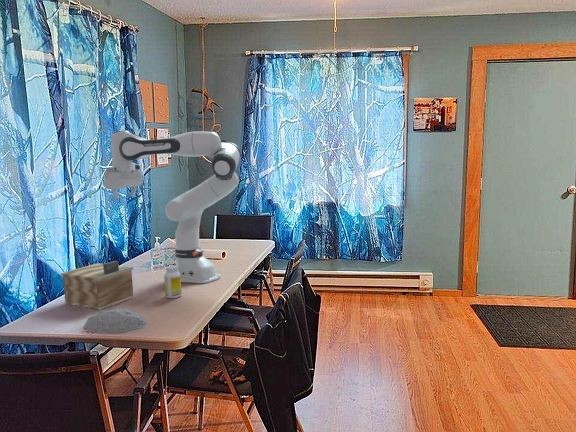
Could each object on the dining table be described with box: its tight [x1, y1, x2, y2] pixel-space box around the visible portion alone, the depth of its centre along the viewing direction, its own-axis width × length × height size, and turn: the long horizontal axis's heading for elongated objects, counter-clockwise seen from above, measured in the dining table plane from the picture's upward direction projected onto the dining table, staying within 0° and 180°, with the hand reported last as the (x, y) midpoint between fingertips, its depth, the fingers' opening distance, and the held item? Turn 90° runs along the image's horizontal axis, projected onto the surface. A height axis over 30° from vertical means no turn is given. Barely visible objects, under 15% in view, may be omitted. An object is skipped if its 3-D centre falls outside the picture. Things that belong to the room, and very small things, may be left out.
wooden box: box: [62, 270, 134, 311], centre depth 221 cm, size 20×18×12 cm
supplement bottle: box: [163, 265, 183, 299], centre depth 224 cm, size 7×7×13 cm
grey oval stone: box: [83, 309, 149, 334], centre depth 192 cm, size 16×25×7 cm, turn 79°
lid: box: [60, 260, 134, 280], centre depth 220 cm, size 21×19×5 cm
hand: (124, 197), depth 244 cm, fingers open, 8 cm apart
